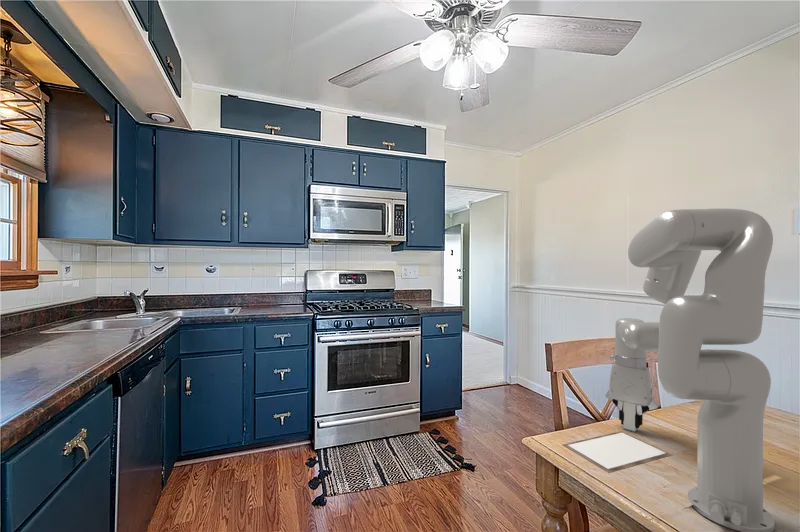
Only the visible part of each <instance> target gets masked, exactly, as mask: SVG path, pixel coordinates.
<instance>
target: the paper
mask: <svg viewBox="0 0 800 532" xmlns="http://www.w3.org/2000/svg"><path fill="white" fill-rule="evenodd" d="M624 433H625V432H624ZM624 433H618V434H614V435H609V436H605V437H601V438H596V439H592V440H587V441H583V442H579V443H574V444H570V445H568V446H569V447H571V448H572V449H574V450H576V451H577V452H579V453H581V454H582V455H584V456H586V457H587V458H589V459H591V460H593V461H594V462H596V463H598V464H599V465H601V466H603V467H604V468H606V469H608V470H609V469H612V468H616V467H620V466H623V465H627V464H631V463H634V462H638V461H642V460H645V459H649V458H652V457H656V456H660V455H663V454H666V453H665V452H663V451H664V450H663V451H661V450H662V449H661V450H659V449H660V448H659V449H657V448H658V447H657V448H654V447H652V446H650V445H651V444H650V445H648V444H649V443H648V444H646V443H647V442H646V443H644V442H645V441H644V442H641V441H639V440H637V439H638V438H637V439H635V438H636V437H635V438H633V437H634V436H633V437H631V436H632V435H631V436H629V435H630V434H629V435H626V434H627V433H626V434H624Z"/></svg>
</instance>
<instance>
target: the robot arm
mask: <svg viewBox="0 0 800 532" xmlns="http://www.w3.org/2000/svg"><path fill="white" fill-rule="evenodd" d="M773 235H774V234H773V229H772V228H771V225H770V224H769V222H768V221H767V219H765V218H764V217H763V216H762V215H760V214H759V213H756V212H754V211H750V210H746V209H741V208H688V209H687V208H686V209H682V208H680V209H672V210H671V209H670V210H668V211H665V212H663V213H660V214H659V215H658V216H657V217H655V218H653V219H652V220H651V221H650V222H649V223H648V224H646V225H645V226H643V227H642V228H641V229H640V230H639V231H638V232H637V233H636V234H634V236H633V238H632V239H631V242H630V243H629V245H628V249H627V253H628V254H627V255H628V260H629V262H630V263H631V264H632V265H633V266H634V267H637V268H648V272H647V274H646V276H645V280H644V283H643V287H642V289H643V291H644V293H645V294H646V295H647V296H648V297H650V298H651V299H653V300H654V301H656V302H658V303H661V304H664V306H663V308H662V309H661V312H660V316H659V322H657V321H655V322H654V321H653V322H651V321H649V322H646V321H644V320H642V319H639V318H633V317H632V318H629V317H627V318H626V317H623V318H622V317H621V318H618V319H616V322H615V354H610V355H609V358H610V360H613V361H614V363H613V364H611V369H610V375H609V388H608V391H607V393H606V394H605V398H606V399H608V400H609V401H610V402H612V403H613V404H614V405H615V407H617V410H618V420H619V421H620V424H621V425H622V426H623V421H624V412H623V401H624V402H628V403H632V404H636V406H637V411H636V415H635V428H637V430H638V429H639V428H640V426H642V425H643V419H644V418H643V414H645V413H647V412H648V411H652V410H656V409H658V407H659V405H658V403H657V402H656V400H655V397H654V395H653V385H652V378H651V377H652V376H651V373H650V369H649V367H647V351H648V352H651V351H652V352H653V351H655V352H657V373H658V378H659V382H660V384H661V386H662V387H663V389H664V390H665V392H666V393H667V394H668V395H670V396H672V397H674V398H676V399H681V400H693V401H703V402H702V404H701V406H700V408H699V409H698V413H697V429H696V430H697V439H696V441H697V442H696V443H697V448H696V450H697V454H696V455H697V467H696V469H697V486H695V487H692V488H690V489H689V490H688V491H687V498H688V500H689V502H690V503H691V507H692V508H693V509H695V511H697V513H699V514H700V515H702V516H704V517H706V518H707V519H709V520H710V521H712V522H715V524H718V525H721V526H723V527H726V528H727V529H730V530H735V531H737V532H773V531H774V530H775V529H776V521H775V519H774V517H773V515H772V514H771V513H770V512H769V511H768V510H767V509H765V508H764V459H763V458H764V420H765V419H764V418H765V409H766V405H767V401H768V398H769V394H770V391H771V384H772V379H771V374H770V371H769V368H768V367H767V365H766V364H765V363H764V362H763V361H762V360H761V359H760V358H758V357H757V356H755V355H753V354H751V353H748V352H745V351H741V350H736V349H734V350H733V349H710V348H709V349H702V346H703V345H705V346H706V345H707V346H709V345H710V346H711V345H712V346H713V345H714V346H715V345H716V346H719V345H722V346H729V345H731V346H732V345H734V346H735V345H747V344H751V343H754V342H755V341H757V340H758V339H759V338H760V335H761V333H762V328H763V327H762V326H763V319H764V304H765V303H764V302H765V290H766V289H765V287H766V283H765V280H766V272H767V267H768V264H769V260H770V257H771V253H772V250H773V245H774V244H773V243H774V242H773V241H774V236H773ZM702 251H719V254H717V255H716V256H715V257H714V258H713V260H712V261H711V262H710V264H709V265H708V267H707V269H706V271H705V274H704V275H705V276H704V289H703V294H702V295H701V294H698V295H696V294H695V295H694V294H693V295H689V294H688V295H685V294H686V291H687V288H688V285H689V284H690V281H691V278H692V277H693V273H694V272H695V269H696V267H697V265H698V264H697V263H698V262H699V259H700V257H701V255H702Z"/></svg>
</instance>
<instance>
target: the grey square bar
mask: <svg viewBox="0 0 800 532" xmlns="http://www.w3.org/2000/svg"><path fill="white" fill-rule="evenodd" d="M636 411H637V406H636V404H632V403H628V402H624V401H623V412H624V421H623V425H622V426H623V427H622V428H623V429H624V431H629V432H631V433H632V432H633V433H635V432H636V431H637V430H638V429H637V428H635V415H636Z"/></svg>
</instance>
